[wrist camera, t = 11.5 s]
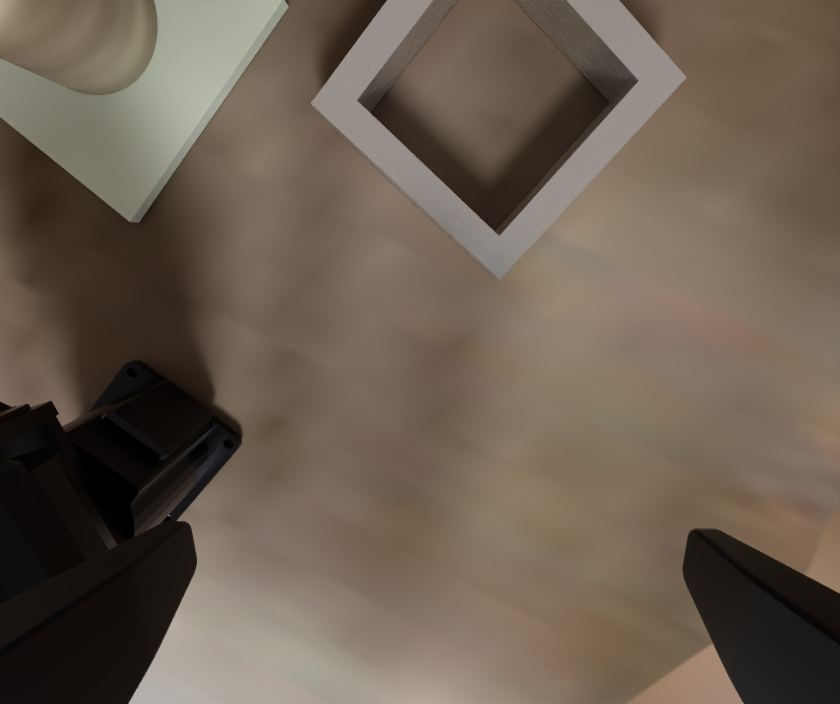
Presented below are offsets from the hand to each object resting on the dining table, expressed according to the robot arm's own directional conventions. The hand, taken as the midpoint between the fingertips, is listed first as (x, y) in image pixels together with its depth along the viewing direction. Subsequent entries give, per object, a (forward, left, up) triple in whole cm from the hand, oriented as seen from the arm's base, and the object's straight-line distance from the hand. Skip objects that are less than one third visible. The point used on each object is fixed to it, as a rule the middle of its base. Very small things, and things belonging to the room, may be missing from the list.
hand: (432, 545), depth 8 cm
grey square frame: (+10, +5, -13) cm, 17 cm away
